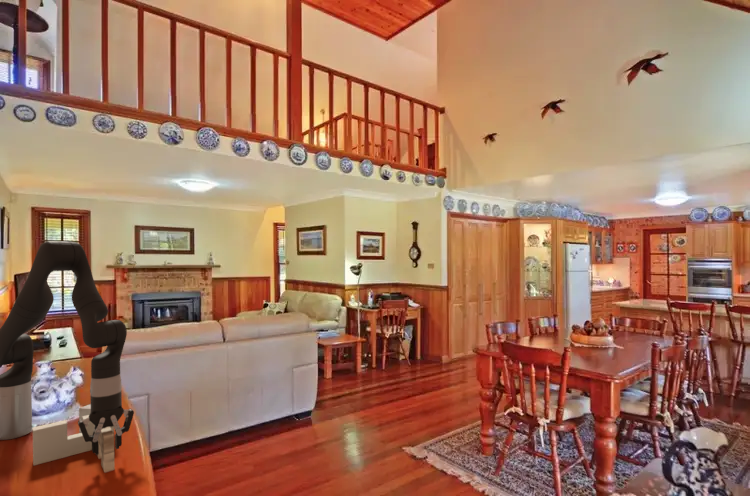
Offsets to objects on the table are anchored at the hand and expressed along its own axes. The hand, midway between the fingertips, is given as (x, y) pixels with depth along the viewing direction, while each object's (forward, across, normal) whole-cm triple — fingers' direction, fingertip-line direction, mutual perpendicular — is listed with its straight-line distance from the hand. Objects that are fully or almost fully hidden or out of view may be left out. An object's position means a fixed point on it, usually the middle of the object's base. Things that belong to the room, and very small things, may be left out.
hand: (107, 450), depth 121 cm
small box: (+5, +1, +26) cm, 26 cm away
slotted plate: (+4, 0, +4) cm, 6 cm away
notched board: (+4, -6, +16) cm, 18 cm away
